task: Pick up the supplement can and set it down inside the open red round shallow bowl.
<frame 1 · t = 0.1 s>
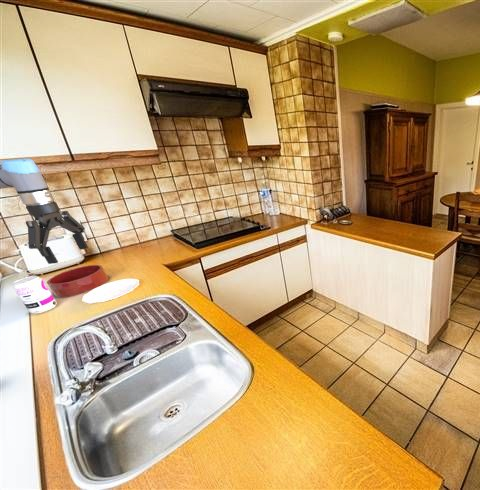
hand: (69, 255, 105), 27 cm above the worktop, tool pointing down, fingers open, 13 cm apart
plate: (113, 293, 129), on the worktop
red round shallow bowl: (82, 285, 136), on the worktop
supplement can: (44, 308, 119), on the worktop
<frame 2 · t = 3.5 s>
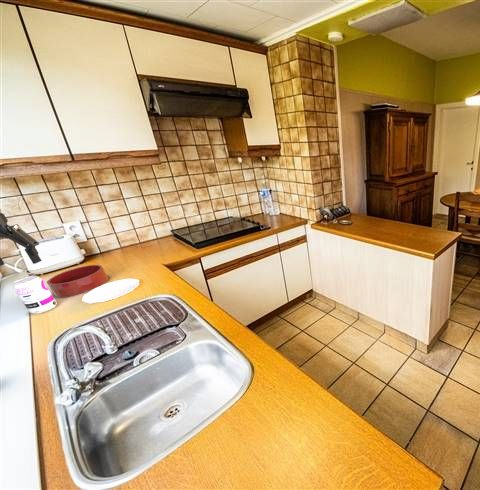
hand: (19, 264, 109), 23 cm above the worktop, tool pointing down, fingers open, 13 cm apart
nothing on the worktop moved.
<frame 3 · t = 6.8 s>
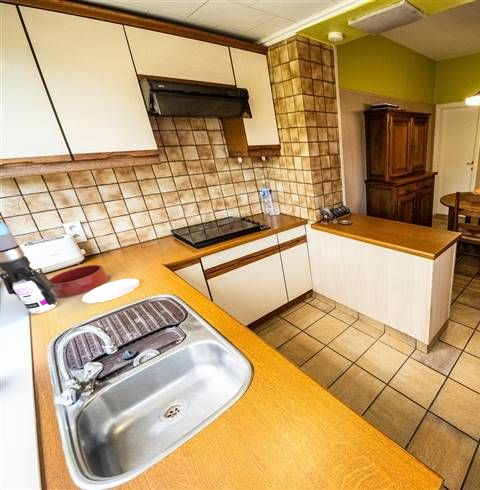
hand: (41, 304, 118), 2 cm above the worktop, tool pointing down, fingers closed on supplement can, 8 cm apart
supplement can: (44, 308, 119), on the worktop, touching gripper
everything else where it was.
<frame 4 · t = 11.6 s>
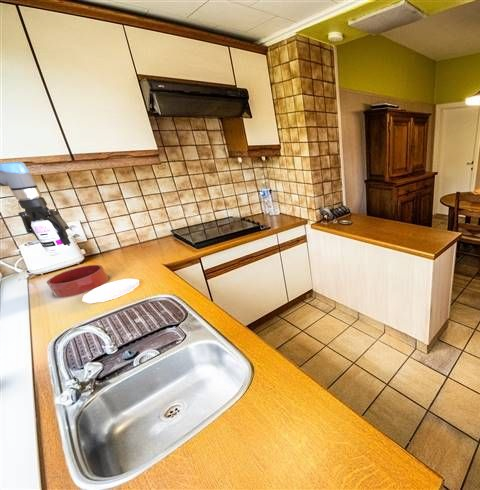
hand: (57, 245, 126), 23 cm above the worktop, tool pointing down, fingers closed on supplement can, 8 cm apart
supplement can: (59, 249, 127), point 21 cm above the worktop, touching gripper
everything else where it was.
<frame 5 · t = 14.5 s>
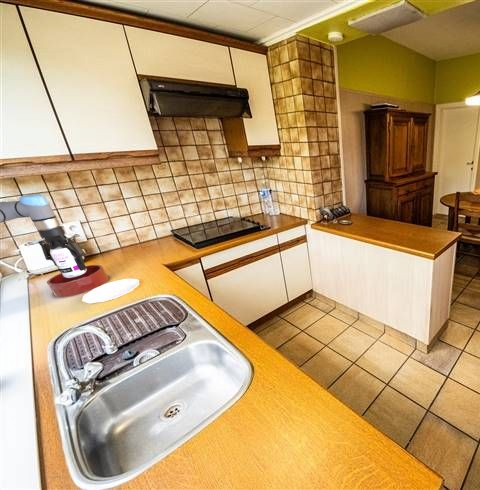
hand: (73, 270, 133), 9 cm above the worktop, tool pointing down, fingers closed on supplement can, 8 cm apart
supplement can: (76, 274, 133), point 7 cm above the worktop, touching gripper
everything else where it was.
when the fingers open (3 cm above the worktop, at t = 16.5 s): supplement can stays where it is, resting on red round shallow bowl.
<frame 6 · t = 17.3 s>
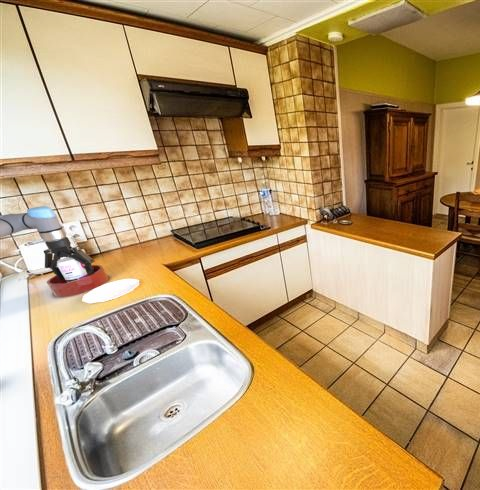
hand: (77, 277, 134), 5 cm above the worktop, tool pointing down, fingers open, 13 cm apart
supplement can: (82, 285, 136), resting on red round shallow bowl
everything else where it was.
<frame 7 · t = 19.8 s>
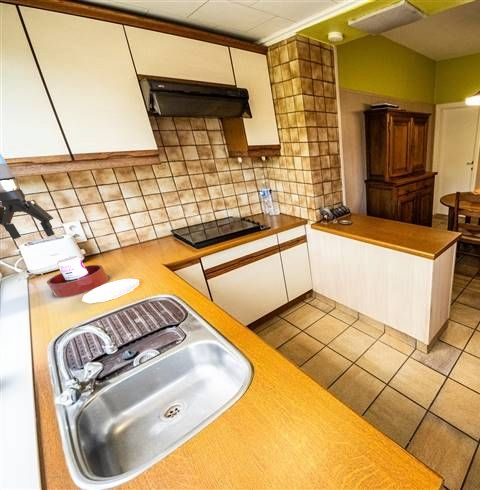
hand: (34, 236, 121), 29 cm above the worktop, tool pointing down, fingers open, 13 cm apart
nothing on the worktop moved.
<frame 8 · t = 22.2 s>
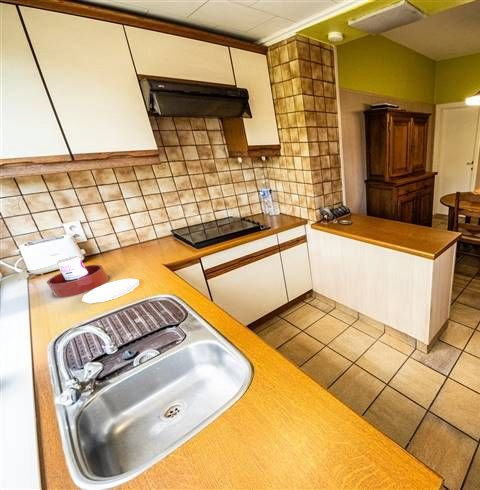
nothing on the worktop moved.
at the end: supplement can inside the target area in the red round shallow bowl (0.0 cm from its centre), point 0.3 cm above the red round shallow bowl's base; supplement can tilted 0° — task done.
